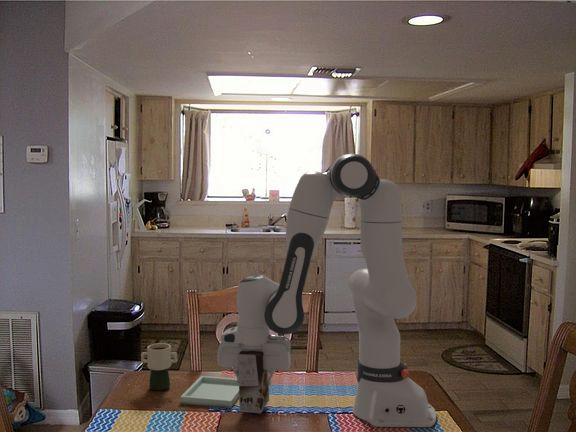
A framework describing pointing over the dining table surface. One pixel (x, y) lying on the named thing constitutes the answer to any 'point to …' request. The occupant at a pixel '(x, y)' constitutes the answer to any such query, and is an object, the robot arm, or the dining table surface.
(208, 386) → the tray
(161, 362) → the character mug
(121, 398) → the dining table surface
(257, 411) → the coffee box
